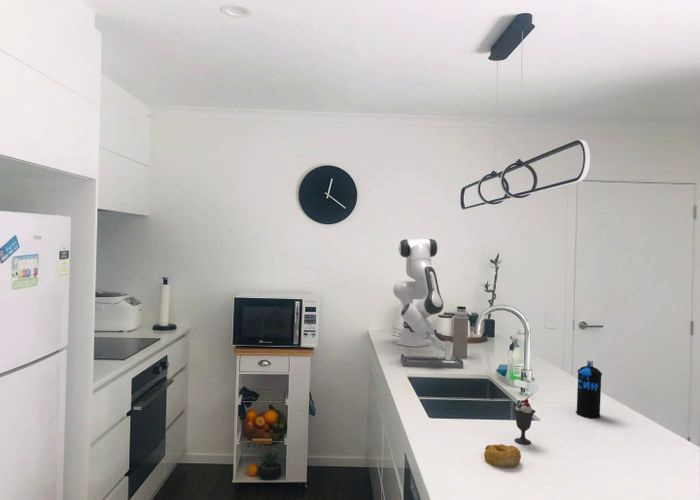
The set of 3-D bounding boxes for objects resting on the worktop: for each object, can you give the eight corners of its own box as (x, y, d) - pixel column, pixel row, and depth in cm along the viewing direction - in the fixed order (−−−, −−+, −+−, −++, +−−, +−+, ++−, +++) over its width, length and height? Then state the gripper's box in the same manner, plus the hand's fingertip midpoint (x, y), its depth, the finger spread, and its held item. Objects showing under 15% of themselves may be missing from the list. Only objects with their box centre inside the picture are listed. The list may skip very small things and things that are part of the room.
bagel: (511, 453, 142) (511, 437, 142) (527, 470, 131) (527, 453, 131) (478, 453, 141) (478, 437, 141) (491, 471, 130) (491, 453, 130)
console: (400, 360, 253) (400, 353, 253) (457, 362, 253) (457, 355, 253) (403, 366, 240) (403, 359, 240) (463, 368, 240) (463, 361, 240)
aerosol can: (580, 409, 183) (582, 357, 183) (603, 415, 177) (605, 361, 177) (572, 414, 177) (574, 360, 177) (596, 420, 172) (598, 364, 171)
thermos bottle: (451, 355, 270) (453, 305, 269) (465, 356, 269) (467, 306, 269) (453, 358, 262) (454, 307, 261) (468, 359, 261) (469, 307, 261)
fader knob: (444, 358, 248) (445, 340, 248) (449, 358, 248) (449, 340, 248) (445, 359, 245) (446, 341, 245) (450, 360, 245) (451, 342, 245)
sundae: (532, 448, 146) (533, 398, 145) (509, 442, 149) (511, 394, 149) (536, 440, 151) (538, 393, 151) (514, 435, 155) (516, 389, 155)
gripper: (434, 330, 236) (453, 350, 236) (427, 323, 257) (444, 342, 257) (424, 339, 236) (443, 359, 236) (418, 331, 257) (436, 350, 257)
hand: (444, 350), depth 247 cm, fingers closed, pressing on fader knob
